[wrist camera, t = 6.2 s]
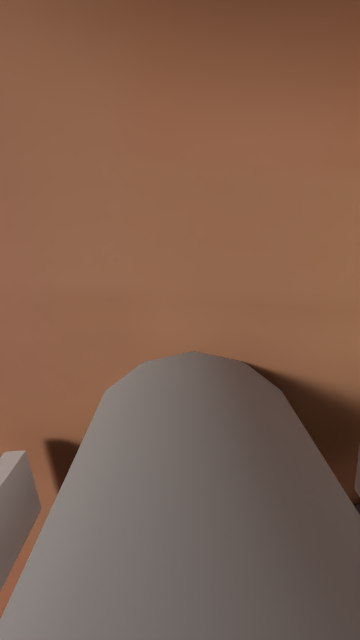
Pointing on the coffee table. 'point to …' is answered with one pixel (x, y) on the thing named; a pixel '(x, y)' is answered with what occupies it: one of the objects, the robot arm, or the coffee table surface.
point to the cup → (193, 519)
